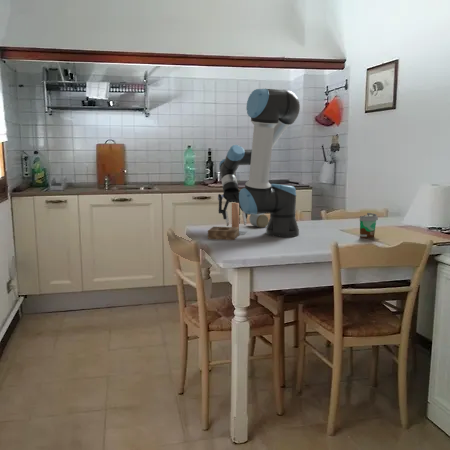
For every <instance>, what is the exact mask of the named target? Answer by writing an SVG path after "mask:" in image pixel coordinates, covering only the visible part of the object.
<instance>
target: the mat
mask: <svg viewBox="0 0 450 450" xmlns="http://www.w3.org/2000/svg"><path fill="white" fill-rule="evenodd" d="M247 233H248V231H240V230H239V236H245V235H246V234H247Z"/></svg>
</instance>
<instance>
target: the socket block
mask: <svg viewBox="0 0 450 450" xmlns="http://www.w3.org/2000/svg"><path fill="white" fill-rule="evenodd" d="M239 231H240V226H239V227H232V226H212V227H211V228H209V229H207V239H209V240H228V241H229V240H230V241H235V240H236V239H237V238H238V237H239V236H240V235H239Z"/></svg>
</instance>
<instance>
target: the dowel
mask: <svg viewBox="0 0 450 450" xmlns="http://www.w3.org/2000/svg"><path fill="white" fill-rule="evenodd" d="M231 227H239V228H240V207H239V203H236V202H231Z"/></svg>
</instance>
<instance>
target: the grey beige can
mask: <svg viewBox="0 0 450 450" xmlns="http://www.w3.org/2000/svg"><path fill="white" fill-rule="evenodd" d="M269 220H270V218H269V216H267V214H266V213H264V214H256V215H254V214H249V223H250V224H251V226H253V227H256V228H265V227H266V228H267V226H268V223H269Z"/></svg>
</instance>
